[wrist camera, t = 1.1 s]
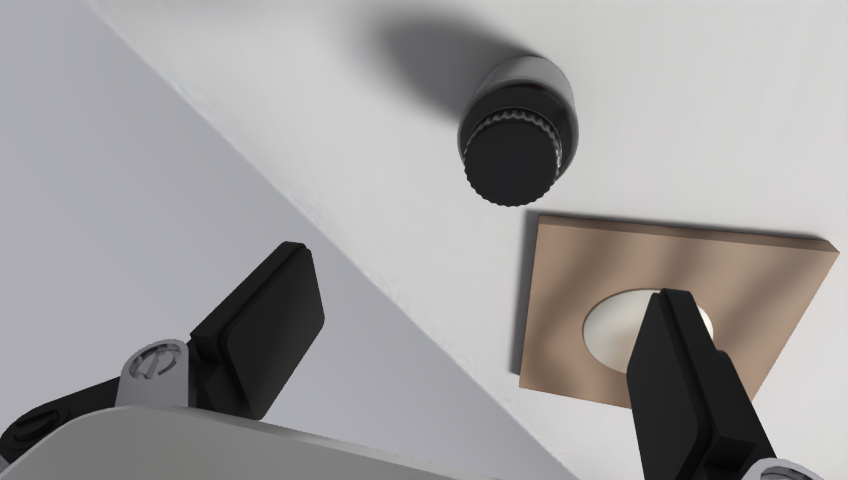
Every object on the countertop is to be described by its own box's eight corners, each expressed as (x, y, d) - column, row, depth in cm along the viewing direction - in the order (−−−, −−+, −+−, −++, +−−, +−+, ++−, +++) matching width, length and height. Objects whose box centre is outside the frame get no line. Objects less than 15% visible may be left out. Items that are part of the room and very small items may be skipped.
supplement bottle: (529, 166, 33) (516, 248, 23) (460, 113, 32) (416, 174, 22) (596, 93, 29) (614, 155, 19) (518, 31, 28) (496, 62, 18)
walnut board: (828, 241, 30) (841, 254, 28) (730, 415, 40) (735, 430, 39) (539, 215, 35) (538, 224, 33) (519, 376, 45) (518, 388, 44)
